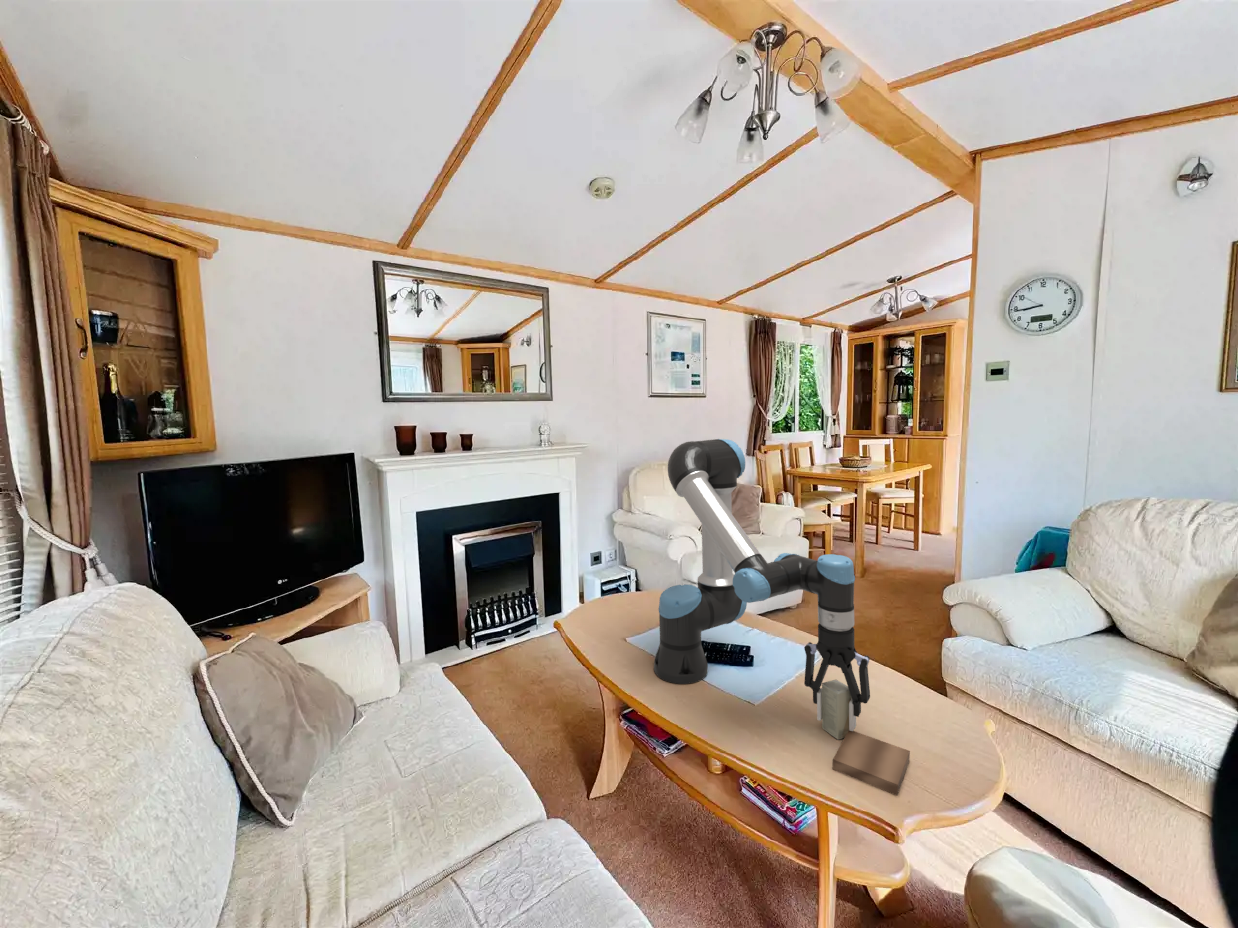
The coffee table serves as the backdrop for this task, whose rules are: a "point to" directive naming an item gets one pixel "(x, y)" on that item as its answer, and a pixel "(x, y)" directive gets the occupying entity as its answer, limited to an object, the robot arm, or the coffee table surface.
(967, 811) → the coffee table surface
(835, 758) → the walnut block
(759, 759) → the coffee table surface
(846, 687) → the box
